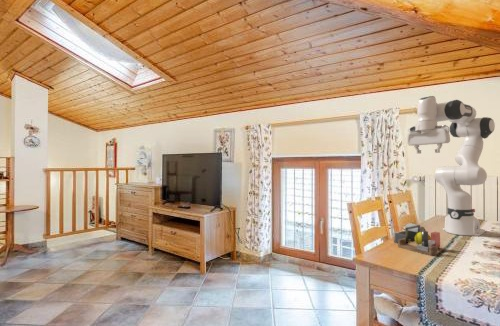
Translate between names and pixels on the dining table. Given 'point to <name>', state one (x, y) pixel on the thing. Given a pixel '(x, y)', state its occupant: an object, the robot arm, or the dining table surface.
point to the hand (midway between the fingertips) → (427, 153)
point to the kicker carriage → (429, 241)
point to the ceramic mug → (415, 228)
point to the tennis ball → (420, 238)
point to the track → (414, 248)
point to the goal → (406, 234)
